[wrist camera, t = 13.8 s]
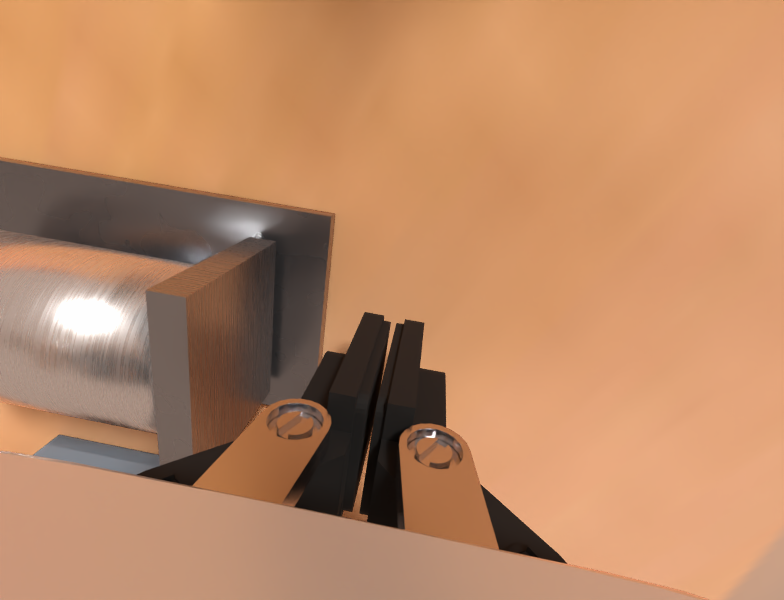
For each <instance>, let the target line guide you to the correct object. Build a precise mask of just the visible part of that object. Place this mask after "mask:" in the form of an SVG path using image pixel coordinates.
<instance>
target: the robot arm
mask: <svg viewBox="0 0 784 600" xmlns="http://www.w3.org/2000/svg"><path fill="white" fill-rule="evenodd" d="M390 324H391V322H388V321H384V316H383V315H378V314H372V313H367V312H365V313H364V315H363V317H362V320H361V322H360V324H359V326H358V329H357V331H356V333H355V335H354V338H353V340H352V342H351V344H350V346H349V349H348V351H347V353H346V354H341V353H336V352H330V351H327V352H326V354H325V355H324V357H323V359H322V361H321V363H320V364H319V366H318V368H317V370H316V372H315V374H314V375H313V377H312V379H311V381H310V383H309V385H308V386H307V388H306V390H305V392H304V394H303V396H302V397H301V399H287V400H281V401H278V402H276V403H274V404H271V405H270V406H268V407H267V408H266V409H264V410H263V411H262V412H261V413H260V414H259V416H258V417H257V418H256V419H255V420H254V421H253V422H252V423H251V424H250V425H249V426H248V427H247V428H246V429H245V430H244V431H243V432H242V434H241V435H240V436H239V437H238V438H237V439H236V440H235V441H232V442H229V443H226V444H223V445H220V446H217V447H214V448H211V449H208V450H205V451H202V452H199V453H196V454H193V455H190V456H187V457H184V458H181V459H178V460H175V461H172V462H169V463H166V464H163V465H160V466H157V467H154V468H151V469H149V470H146V471H143V472H141V473H139V474H137V475H134V474H129V473H124V472H119V471H114V470H109V469H104V468H99V467H94V466H89V465H84V464H79V463H74V462H69V461H63V460H57V459H51V458H45V457H39V456H33V455H26V454H20V453H14V452H8V451H0V600H709V599H706V598H703V597H700V596H697V595H694V594H691V593H688V592H684V591H681V590H677V589H673V588H669V587H665V586H661V585H657V584H652V583H648V582H644V581H640V580H636V579H632V578H628V577H624V576H620V575H616V574H612V573H608V572H603V571H598V570H593V569H589V568H584V567H579V566H575V565H570V564H567V563H566V562H565V561H564V559H563V558H562V557H561V556H560V555H559V554H558V553H557V552H555V551H554V550H553V549H552V548H551V547H550V546H549V545H548V544H547V543H545V542H544V541H543V540H542V539H541V538H540V537H539V536H538V535H537V534H535V533H534V532H533V531H532V530H531V529H530V528H529V527H528V526H526V525H525V524H524V523H523V522H522V521H521V520H520V519H519V518H518V517H516V516H515V515H514V514H513V513H512V512H511V511H510V510H509V509H508V508H506V507H505V506H504V505H503V504H502V503H501V502H500V501H499V500H497V499H496V498H495V497H494V496H493V495H492V494H491V493H490V492H489V491H487V490H486V489H485V488H484V487H483V486H482V485H481V484H480V482H479V478H478V475H477V472H476V468H475V465H474V461H473V458H472V454H471V451H470V449H469V447H468V445H467V443H466V442H465V441H464V440H463V438H462V437H461V436H460V435H458V434H457V433H455V432H454V431H452V430H450V429H448V428H446V381H445V373H443V372H438V371H433V370H427V369H422V368H420V360H421V350H422V340H423V330H424V323H422V322H417V321H411V320H406V319H405V323H404V324H399V323H397V324H396V328H395V332H394V336H393V340H392V344H391V348H390V352H389V356H388V360H387V364H386V368H385V372H384V376H383V380H382V375H383V369H384V362H385V356H386V350H387V343H388V337H389V331H390ZM381 381H382V384H381ZM372 428H373V430H372ZM371 432H372V437H371ZM370 437H371V443H370V449H369V456H368V462H367V469H366V475H365V481H364V488H363V494H362V500H361V507H360V514H365V515H368V519H367V522H365V521H360V520H356V519H351V518H346V517H342V514H343V510H345V511H350V512H352V511H353V507H354V503H355V499H356V494H357V490H358V486H359V482H360V478H361V474H362V470H363V466H364V461H365V457H366V453H367V449H368V445H369V441H370Z"/></svg>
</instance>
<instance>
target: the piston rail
mask: <svg viewBox="0 0 784 600" xmlns="http://www.w3.org/2000/svg"><path fill="white" fill-rule="evenodd" d="M334 223H335V214H334V213H329V212H323V211H317V210H311V209H305V208H299V207H293V206H287V205H281V204H275V203H269V202H263V201H257V200H251V199H245V198H240V197H234V196H228V195H222V194H216V193H210V192H204V191H198V190H192V189H186V188H180V187H174V186H168V185H162V184H156V183H150V182H145V181H139V180H133V179H127V178H121V177H115V176H109V175H103V174H97V173H91V172H85V171H79V170H73V169H67V168H61V167H55V166H50V165H44V164H38V163H32V162H26V161H20V160H14V159H8V158H2V157H0V230H5V231H10V232H16V233H22V234H27V235H33V236H38V237H44V238H50V239H55V240H61V241H67V242H72V243H78V244H83V245H89V246H95V247H100V248H106V249H111V250H117V251H123V252H128V253H134V254H139V255H145V256H151V257H156V258H162V259H168V260H173V261H179V262H184V263H190V264H197V263H199V262H201V261H203V260H205V259H207V258H209V257H211V256H213V255H215V254H217V253H219V252H221V251H223V250H225V249H227V248H229V247H231V246H233V245H235V244H237V243H239V242H241V241H243V240H245V239H246V238H248V237H254V238H259V239H265V240H271V241H276V261H275V286H274V310H273V334H272V359H271V383H270V392H269V393H268V395H267V396H266V398H265V399H264V401H263V402H262V404H266V405H271V404H274V403H276V402H278V401H281V400H287V399H301V397H302V396H303V394H304V392H305V390H306V388H307V386H308V385H309V383H310V381H311V379H312V377H313V375H314V374H315V372H316V370H317V368H318V366H319V364H320V363H321V361H322V352H323V341H324V330H325V319H326V309H327V298H328V287H329V277H330V266H331V255H332V244H333V234H334Z"/></svg>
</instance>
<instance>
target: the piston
mask: <svg viewBox="0 0 784 600" xmlns="http://www.w3.org/2000/svg"><path fill="white" fill-rule="evenodd" d="M275 261H276V241H271V240H265V239H259V238H254V237H248V238H246V239H245V240H243V241H241V242H239V243H237V244H235V245H233V246H231V247H229V248H227V249H225V250H223V251H221V252H219V253H217V254H215V255H213V256H211V257H209V258H207V259H205V260H203V261H201V262H199V263H197V264H190V263H184V262H179V261H173V260H168V259H162V258H156V257H151V256H145V255H139V254H134V253H128V252H123V251H117V250H111V249H106V248H100V247H95V246H89V245H83V244H78V243H72V242H67V241H61V240H55V239H50V238H44V237H38V236H33V235H27V234H22V233H16V232H10V231H5V230H0V402H2V403H7V404H12V405H17V406H22V407H27V408H32V409H37V410H42V411H47V412H52V413H57V414H62V415H67V416H72V417H76V418H81V419H86V420H91V421H96V422H101V423H106V424H111V425H116V426H121V427H126V428H131V429H136V430H141V431H146V432H151V433H156V434H157V436H158V448H159V460H160V465H163V464H166V463H169V462H172V461H175V460H178V459H181V458H184V457H187V456H190V455H193V454H196V453H199V452H202V451H205V450H208V449H211V448H214V447H217V446H220V445H223V444H226V443H229V442H232V441H235V440H236V439H237V438H238V437H239V436H240V434H241V433H242V431H243V430H244V429H245V427H246V426H247V424H248V423H249V421H250V420H251V418H252V417H253V415H254V414H255V412H256V411H257V410H258V408H259V407H260V405H261V404H262V402H263V401H264V399H265V398H266V396H267V395H268V393H269V392H270V383H271V359H272V334H273V310H274V286H275Z"/></svg>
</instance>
